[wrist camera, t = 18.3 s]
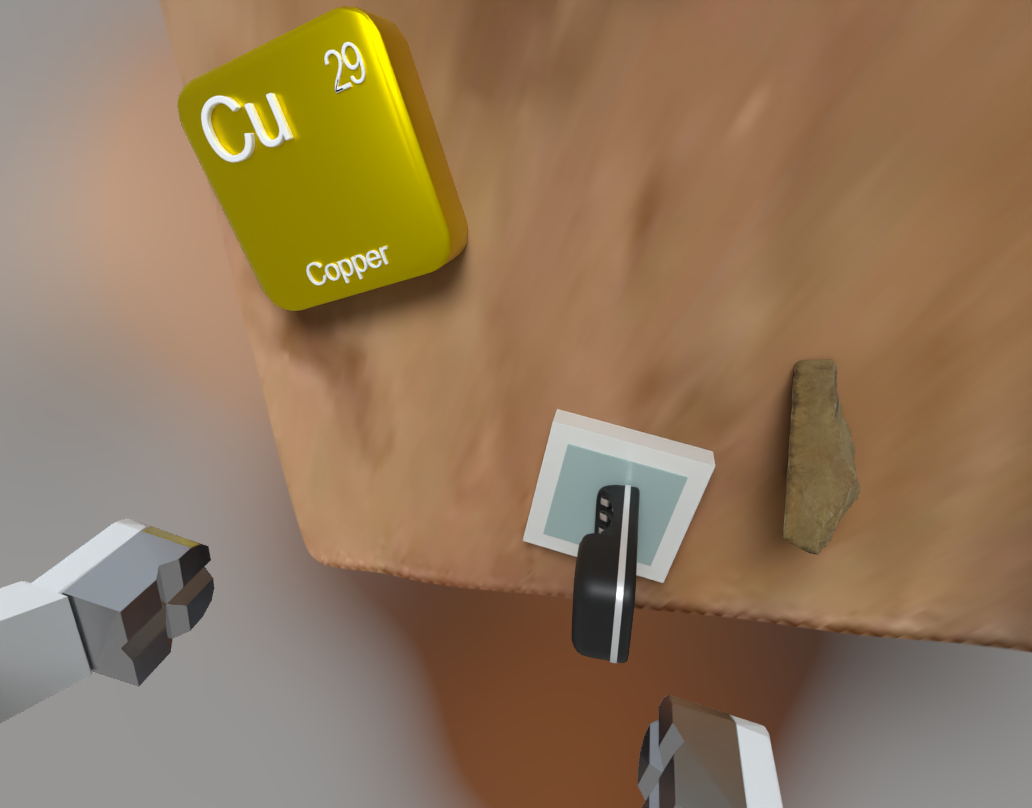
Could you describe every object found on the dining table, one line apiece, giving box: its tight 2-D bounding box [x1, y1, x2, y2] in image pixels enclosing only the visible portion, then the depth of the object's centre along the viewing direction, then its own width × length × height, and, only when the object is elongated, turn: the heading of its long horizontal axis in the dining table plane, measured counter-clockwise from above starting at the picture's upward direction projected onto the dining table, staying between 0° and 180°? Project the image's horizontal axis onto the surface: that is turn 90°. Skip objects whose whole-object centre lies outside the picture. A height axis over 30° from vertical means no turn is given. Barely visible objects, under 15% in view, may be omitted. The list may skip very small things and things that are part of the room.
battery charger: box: [572, 485, 640, 663], centre depth 38 cm, size 7×4×11 cm, turn 1°
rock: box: [783, 360, 860, 555], centre depth 35 cm, size 11×9×10 cm
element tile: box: [178, 6, 468, 311], centre depth 36 cm, size 15×15×5 cm
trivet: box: [523, 409, 715, 583], centre depth 43 cm, size 12×12×2 cm
